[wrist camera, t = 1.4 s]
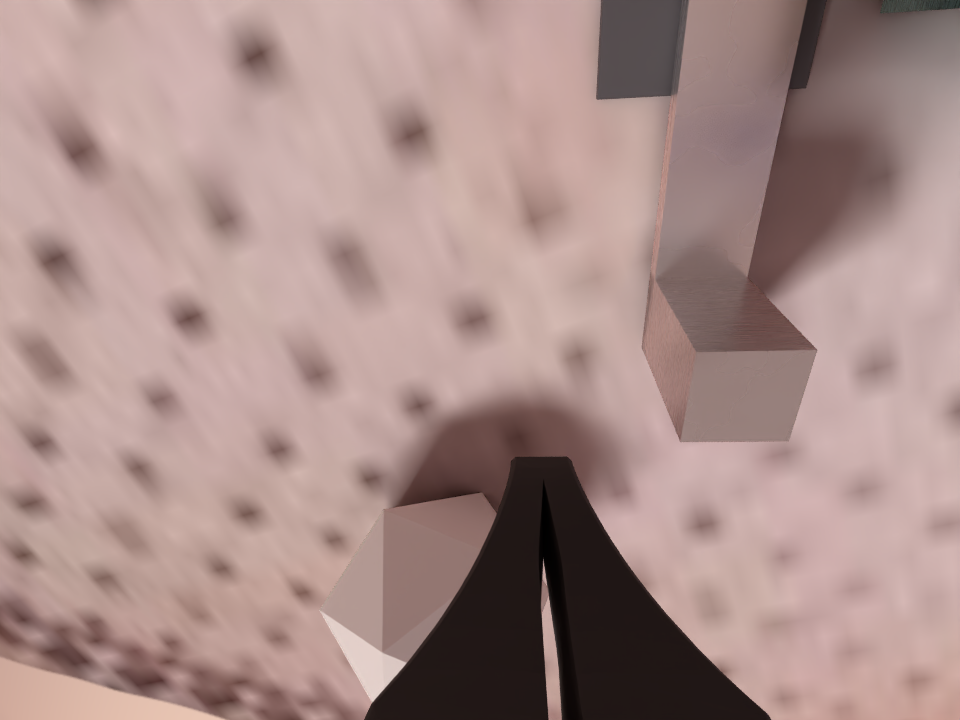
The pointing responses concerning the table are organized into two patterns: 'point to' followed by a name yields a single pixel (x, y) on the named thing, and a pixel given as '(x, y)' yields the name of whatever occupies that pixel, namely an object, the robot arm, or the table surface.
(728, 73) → the hook
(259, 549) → the table surface
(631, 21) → the dark grey plate
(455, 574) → the die
